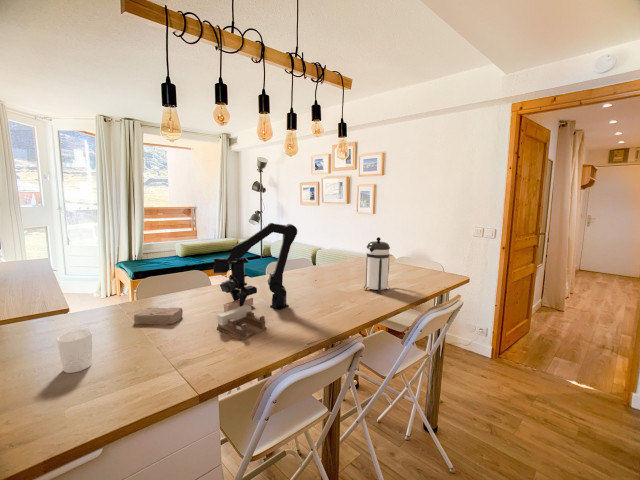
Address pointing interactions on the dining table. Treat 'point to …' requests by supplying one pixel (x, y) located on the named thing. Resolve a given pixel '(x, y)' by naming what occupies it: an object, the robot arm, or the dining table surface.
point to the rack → (243, 326)
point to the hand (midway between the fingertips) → (238, 305)
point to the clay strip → (237, 304)
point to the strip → (233, 314)
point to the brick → (158, 316)
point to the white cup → (75, 350)
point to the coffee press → (377, 265)
